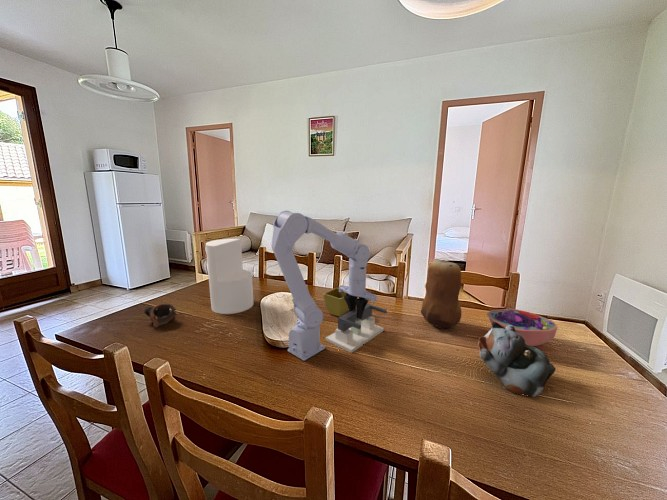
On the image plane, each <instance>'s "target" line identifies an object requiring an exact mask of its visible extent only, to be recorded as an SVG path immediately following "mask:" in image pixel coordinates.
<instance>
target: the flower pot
mask: <svg viewBox="0 0 667 500" xmlns="http://www.w3.org/2000/svg"><path fill="white" fill-rule="evenodd" d="M344 296H346V293H344V292H339V287H335V288H333V289H331V290H329V291H326V292H324V293H323V299H324V306H325V308H326V310H327V312H328V314H330V315H333V316H335V317H340V316H342V315H344V314H346V313H348V312H349V308H348V305H347V303H346V301H345V299H344Z"/></svg>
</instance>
